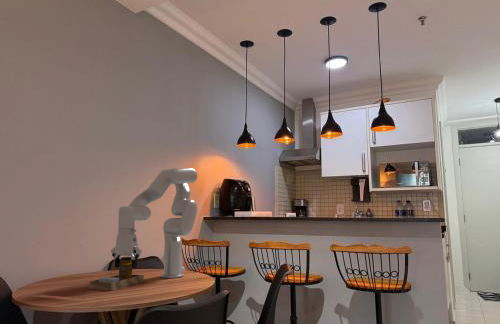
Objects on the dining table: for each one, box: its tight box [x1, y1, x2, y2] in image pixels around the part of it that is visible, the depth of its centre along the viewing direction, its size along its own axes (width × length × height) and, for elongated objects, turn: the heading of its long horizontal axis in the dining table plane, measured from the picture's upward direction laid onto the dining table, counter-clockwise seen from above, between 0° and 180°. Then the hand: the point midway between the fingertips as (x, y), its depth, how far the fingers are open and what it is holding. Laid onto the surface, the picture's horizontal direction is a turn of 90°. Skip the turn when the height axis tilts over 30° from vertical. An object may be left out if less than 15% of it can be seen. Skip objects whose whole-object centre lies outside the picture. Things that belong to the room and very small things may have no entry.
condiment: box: [118, 256, 133, 279], centre depth 173 cm, size 7×8×12 cm
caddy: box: [88, 274, 145, 291], centre depth 168 cm, size 22×13×4 cm, turn 161°
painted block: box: [98, 276, 119, 283], centre depth 163 cm, size 4×8×4 cm, turn 71°
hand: (125, 267), depth 174 cm, fingers open, 9 cm apart
